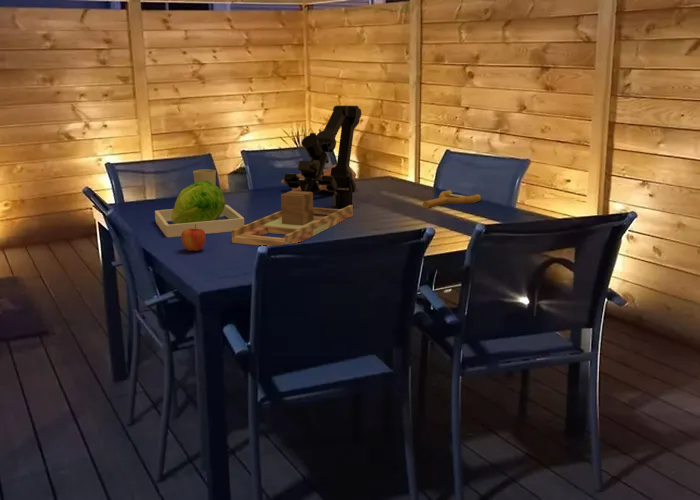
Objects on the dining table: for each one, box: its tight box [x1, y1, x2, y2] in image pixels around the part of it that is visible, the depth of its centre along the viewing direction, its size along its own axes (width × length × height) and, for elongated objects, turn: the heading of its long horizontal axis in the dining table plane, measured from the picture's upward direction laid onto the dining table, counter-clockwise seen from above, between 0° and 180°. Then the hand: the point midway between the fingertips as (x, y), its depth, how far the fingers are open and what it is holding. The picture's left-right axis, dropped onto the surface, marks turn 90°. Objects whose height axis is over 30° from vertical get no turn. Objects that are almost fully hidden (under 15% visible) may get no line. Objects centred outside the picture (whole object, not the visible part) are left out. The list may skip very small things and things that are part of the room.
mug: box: [192, 168, 217, 186], centre depth 315 cm, size 11×10×12 cm
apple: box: [180, 224, 207, 252], centre depth 235 cm, size 7×7×8 cm
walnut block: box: [280, 190, 314, 225], centre depth 263 cm, size 8×8×10 cm
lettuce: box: [171, 181, 226, 224], centre depth 269 cm, size 17×20×17 cm
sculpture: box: [280, 163, 357, 194], centre depth 330 cm, size 12×26×30 cm
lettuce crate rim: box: [154, 204, 245, 238], centre depth 269 cm, size 26×26×4 cm
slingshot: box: [422, 190, 482, 209], centre depth 304 cm, size 18×3×25 cm
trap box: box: [231, 204, 354, 247], centre depth 264 cm, size 51×20×4 cm, turn 157°
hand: (303, 201), depth 267 cm, fingers closed
